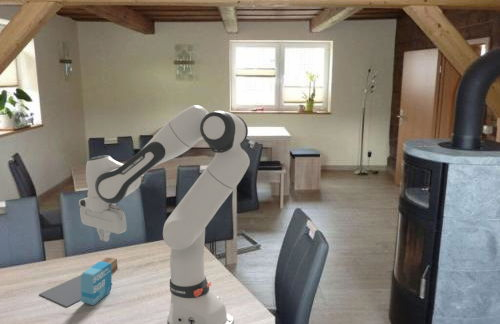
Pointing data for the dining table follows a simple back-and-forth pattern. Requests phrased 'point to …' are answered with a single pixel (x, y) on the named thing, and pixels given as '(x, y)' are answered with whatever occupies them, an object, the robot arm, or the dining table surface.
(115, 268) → the walnut cube
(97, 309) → the dining table surface
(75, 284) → the mat
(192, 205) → the robot arm
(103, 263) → the data package
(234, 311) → the dining table surface
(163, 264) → the dining table surface
